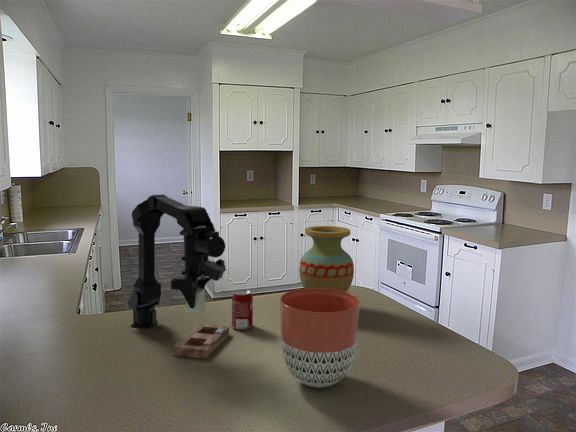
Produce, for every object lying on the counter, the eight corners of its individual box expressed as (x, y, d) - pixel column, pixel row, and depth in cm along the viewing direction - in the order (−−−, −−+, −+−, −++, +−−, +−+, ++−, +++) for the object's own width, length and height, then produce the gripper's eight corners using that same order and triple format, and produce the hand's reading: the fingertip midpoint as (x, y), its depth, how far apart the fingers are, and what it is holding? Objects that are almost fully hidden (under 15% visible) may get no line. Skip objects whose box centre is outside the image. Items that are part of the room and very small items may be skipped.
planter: (298, 409, 103) (300, 317, 100) (267, 371, 121) (268, 292, 118) (372, 392, 111) (375, 306, 108) (332, 359, 128) (334, 284, 125)
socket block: (173, 354, 130) (173, 345, 129) (199, 331, 147) (199, 322, 147) (206, 358, 127) (206, 348, 127) (229, 334, 145) (229, 325, 144)
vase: (364, 312, 167) (367, 231, 163) (320, 323, 155) (323, 236, 151) (329, 298, 183) (331, 223, 179) (287, 307, 172) (289, 227, 168)
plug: (186, 312, 130) (185, 290, 129) (192, 308, 134) (191, 287, 133) (199, 313, 129) (198, 291, 128) (205, 309, 133) (204, 288, 132)
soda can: (249, 331, 147) (249, 295, 146) (229, 330, 149) (229, 294, 147) (254, 324, 154) (255, 289, 152) (235, 322, 155) (235, 288, 154)
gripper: (208, 260, 119) (209, 319, 120) (232, 247, 137) (233, 298, 139) (168, 258, 121) (170, 315, 123) (198, 245, 139) (198, 295, 141)
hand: (195, 305), depth 131 cm, fingers closed on plug, 4 cm apart
